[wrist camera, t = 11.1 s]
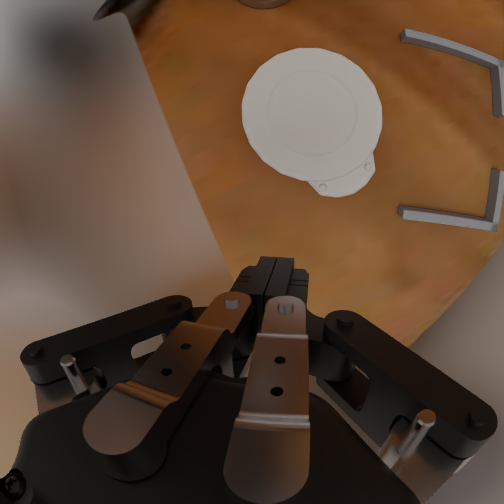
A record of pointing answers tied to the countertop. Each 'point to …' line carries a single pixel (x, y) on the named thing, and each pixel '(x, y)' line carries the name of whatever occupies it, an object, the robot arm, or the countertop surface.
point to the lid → (314, 119)
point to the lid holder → (500, 79)
